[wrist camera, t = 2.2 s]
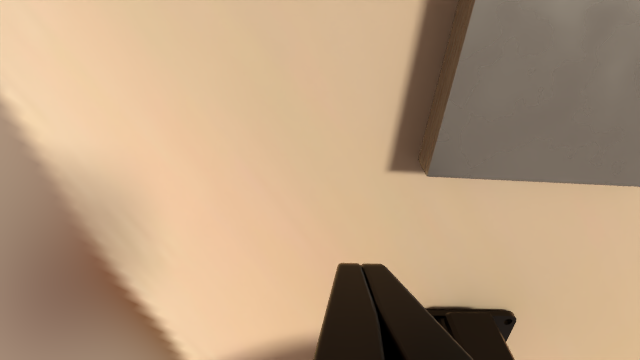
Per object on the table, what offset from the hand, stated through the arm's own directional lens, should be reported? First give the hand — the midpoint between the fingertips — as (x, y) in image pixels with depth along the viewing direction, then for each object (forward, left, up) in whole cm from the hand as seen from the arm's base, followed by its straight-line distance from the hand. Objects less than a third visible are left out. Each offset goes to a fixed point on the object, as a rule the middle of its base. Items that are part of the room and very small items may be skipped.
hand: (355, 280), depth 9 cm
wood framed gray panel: (0, -12, -13) cm, 17 cm away
